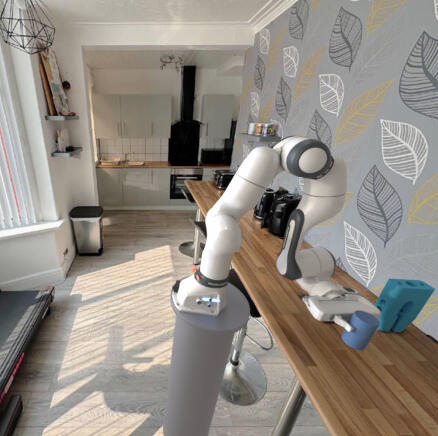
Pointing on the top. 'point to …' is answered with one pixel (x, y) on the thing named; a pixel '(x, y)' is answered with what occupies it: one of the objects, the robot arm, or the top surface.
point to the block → (401, 303)
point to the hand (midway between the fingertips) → (364, 330)
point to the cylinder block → (361, 330)
